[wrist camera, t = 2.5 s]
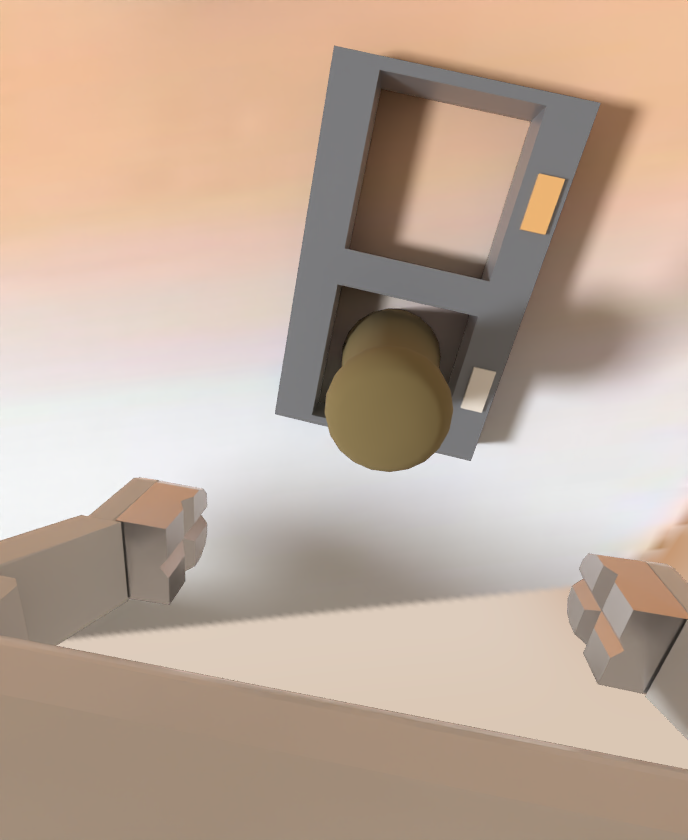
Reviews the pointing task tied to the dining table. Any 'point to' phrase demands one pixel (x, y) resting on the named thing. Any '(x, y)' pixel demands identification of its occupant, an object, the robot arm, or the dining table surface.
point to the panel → (480, 298)
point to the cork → (389, 393)
